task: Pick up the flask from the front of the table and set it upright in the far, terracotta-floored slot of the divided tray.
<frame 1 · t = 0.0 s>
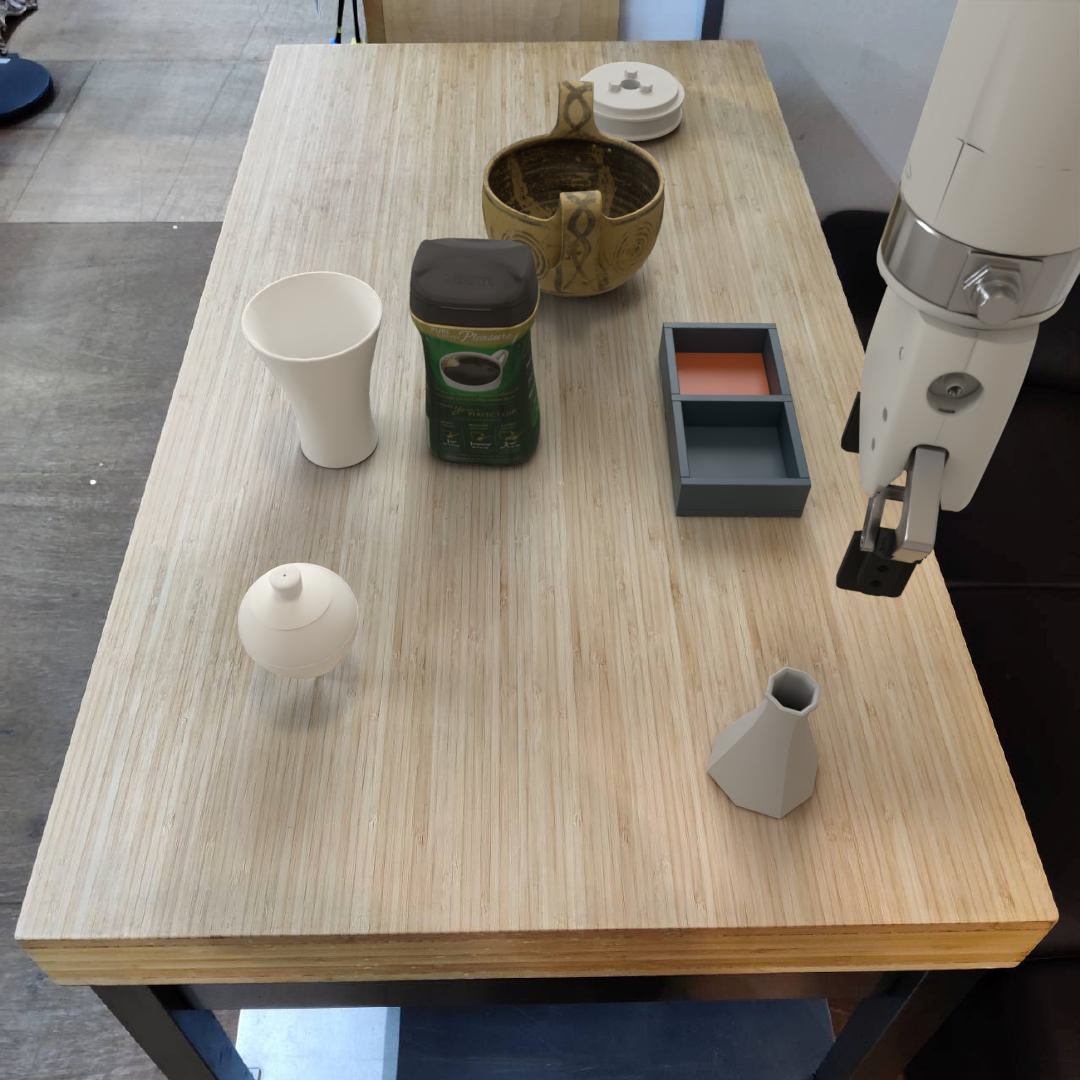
hand: (867, 516, 52), 20 cm above the table, tool pointing down, fingers open, 9 cm apart
coffee jar: (483, 438, 84), on the table
divided tray: (724, 430, 85), on the table
cup: (340, 442, 84), on the table
flask: (762, 767, 66), on the table
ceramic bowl: (570, 276, 98), on the table
lid: (627, 121, 117), on the table
spinning top: (318, 677, 70), on the table
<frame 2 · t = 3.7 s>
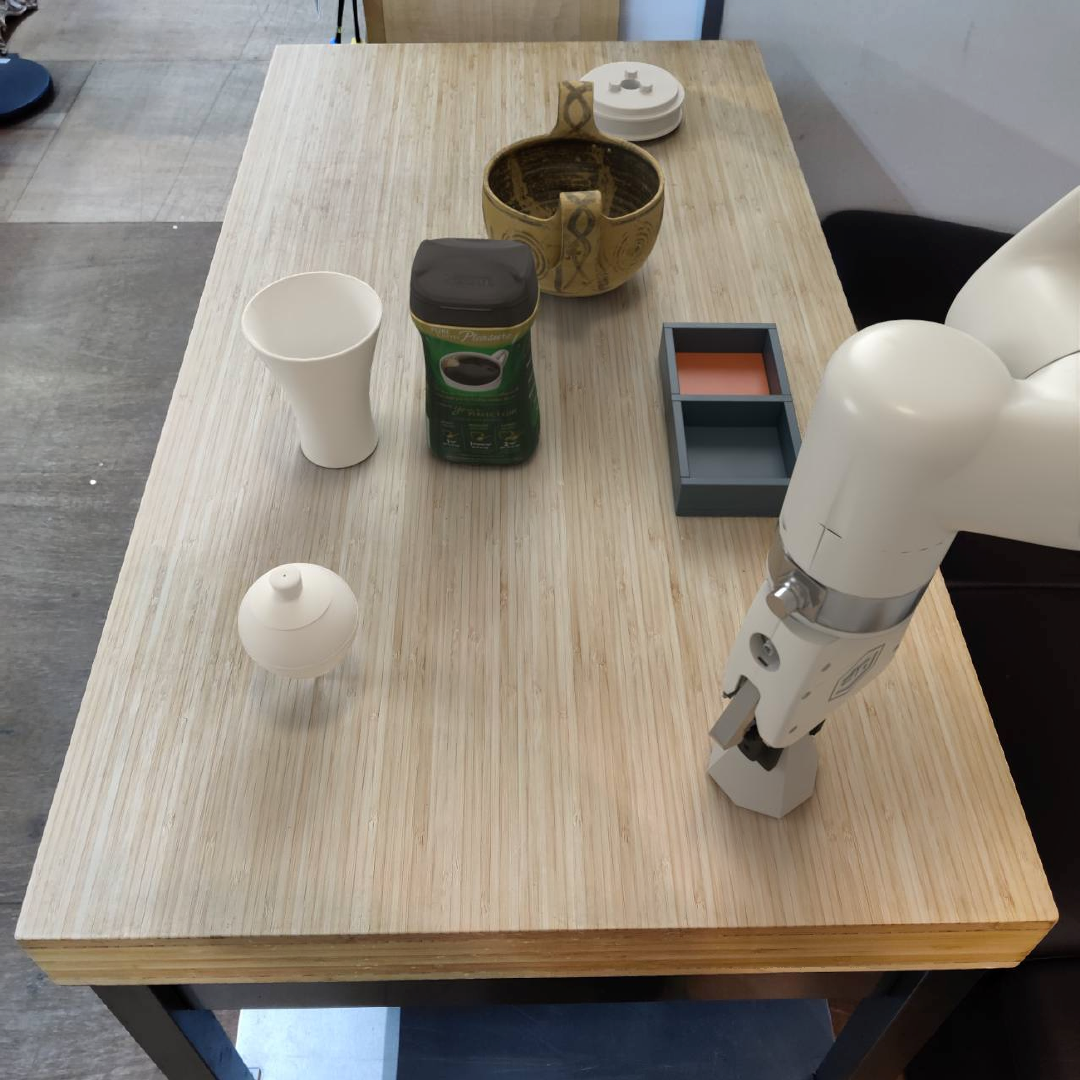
hand: (776, 733, 62), 5 cm above the table, tool pointing down, fingers closed on flask, 3 cm apart
flask: (762, 766, 66), on the table, touching gripper
everything else where it was.
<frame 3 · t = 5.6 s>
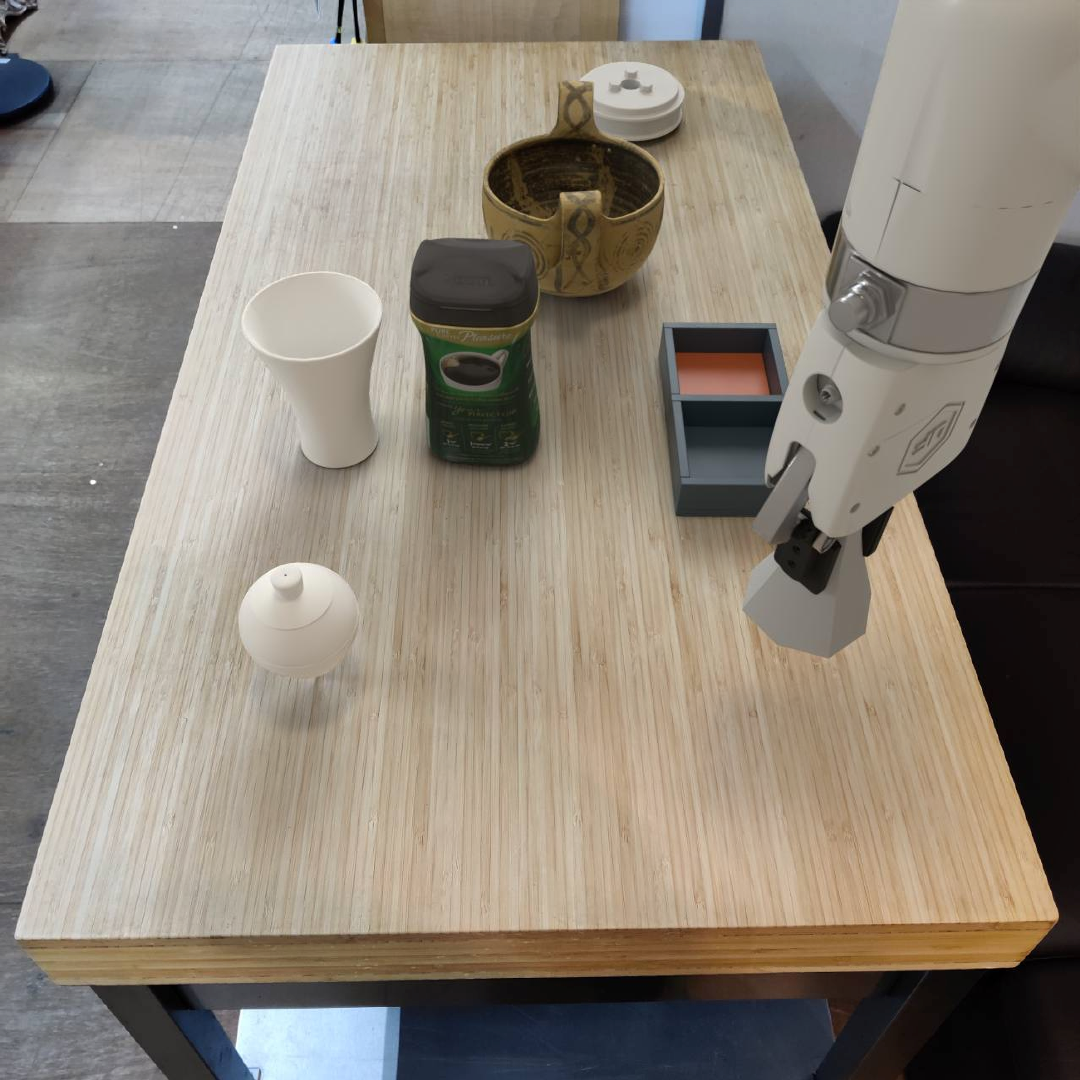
hand: (824, 555, 53), 19 cm above the table, tool pointing down, fingers closed on flask, 3 cm apart
flask: (805, 606, 57), point 14 cm above the table, touching gripper
everything else where it was.
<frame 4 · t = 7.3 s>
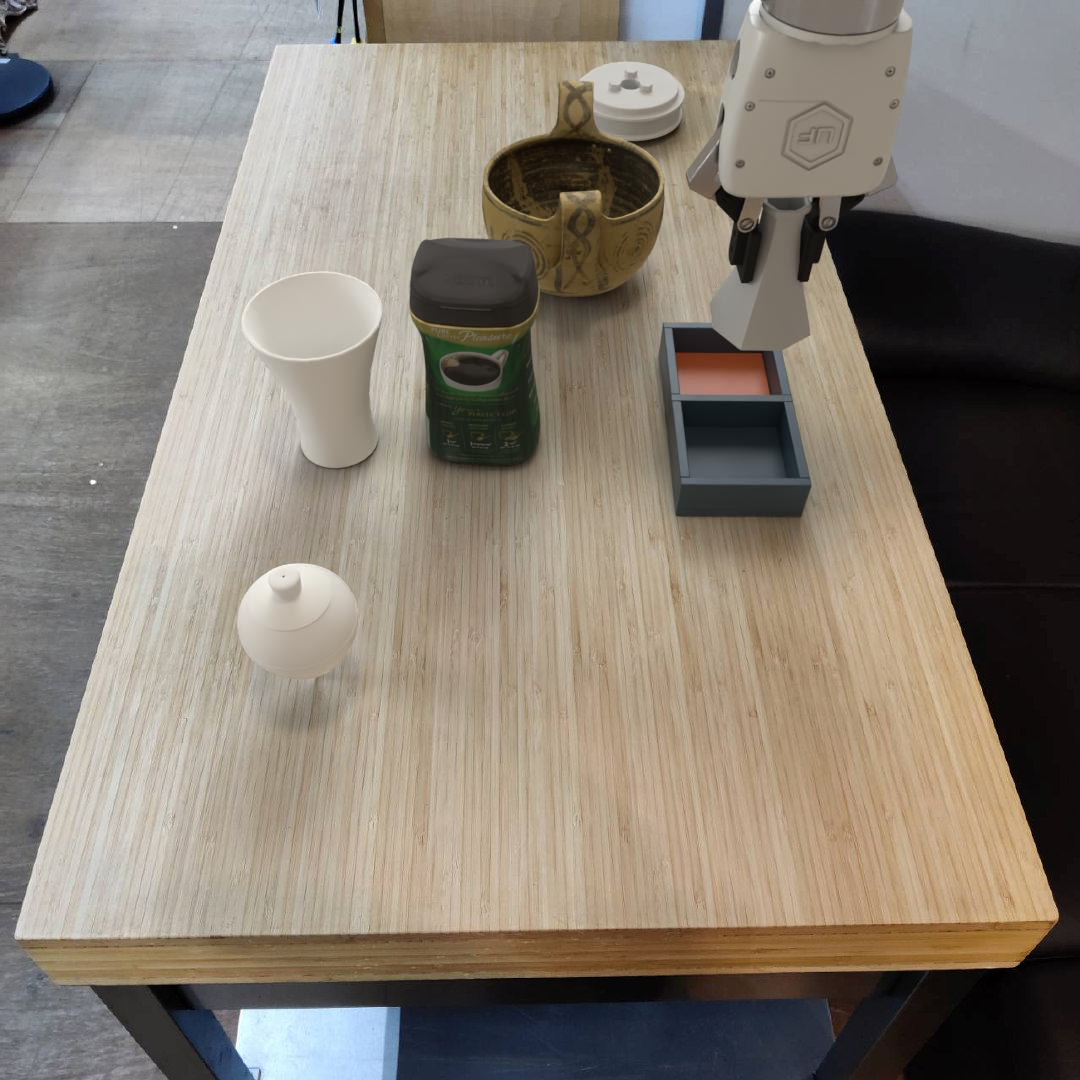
hand: (770, 268, 67), 19 cm above the table, tool pointing down, fingers closed on flask, 3 cm apart
flask: (758, 324, 71), point 14 cm above the table, touching gripper
everything else where it was.
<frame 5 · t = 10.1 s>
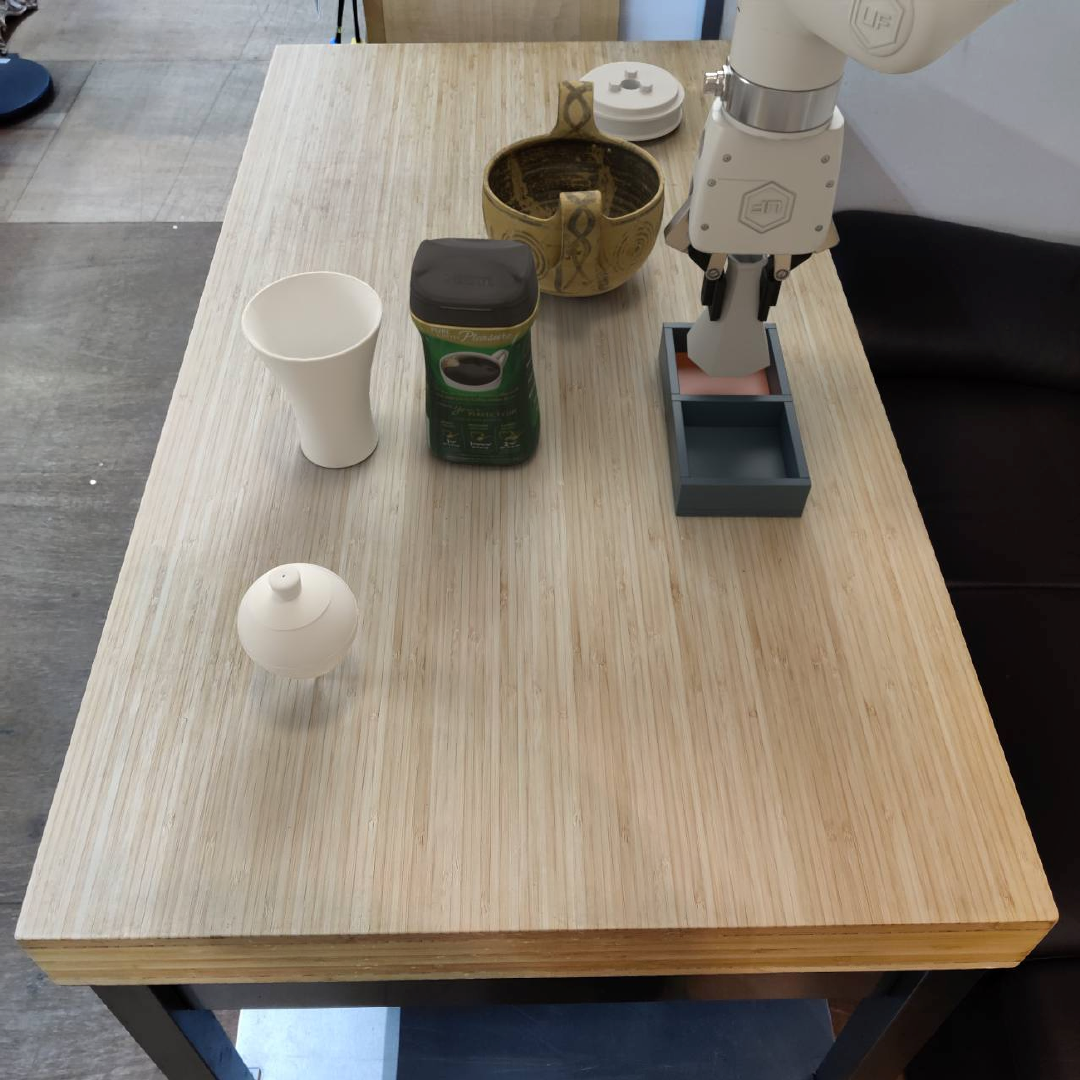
hand: (736, 308, 80), 9 cm above the table, tool pointing down, fingers closed on flask, 3 cm apart
flask: (727, 354, 84), point 5 cm above the table, touching gripper
everything else where it was.
when the fingers open (6 cm above the table, at t = 11.3 s): flask stays where it is, resting on divided tray.
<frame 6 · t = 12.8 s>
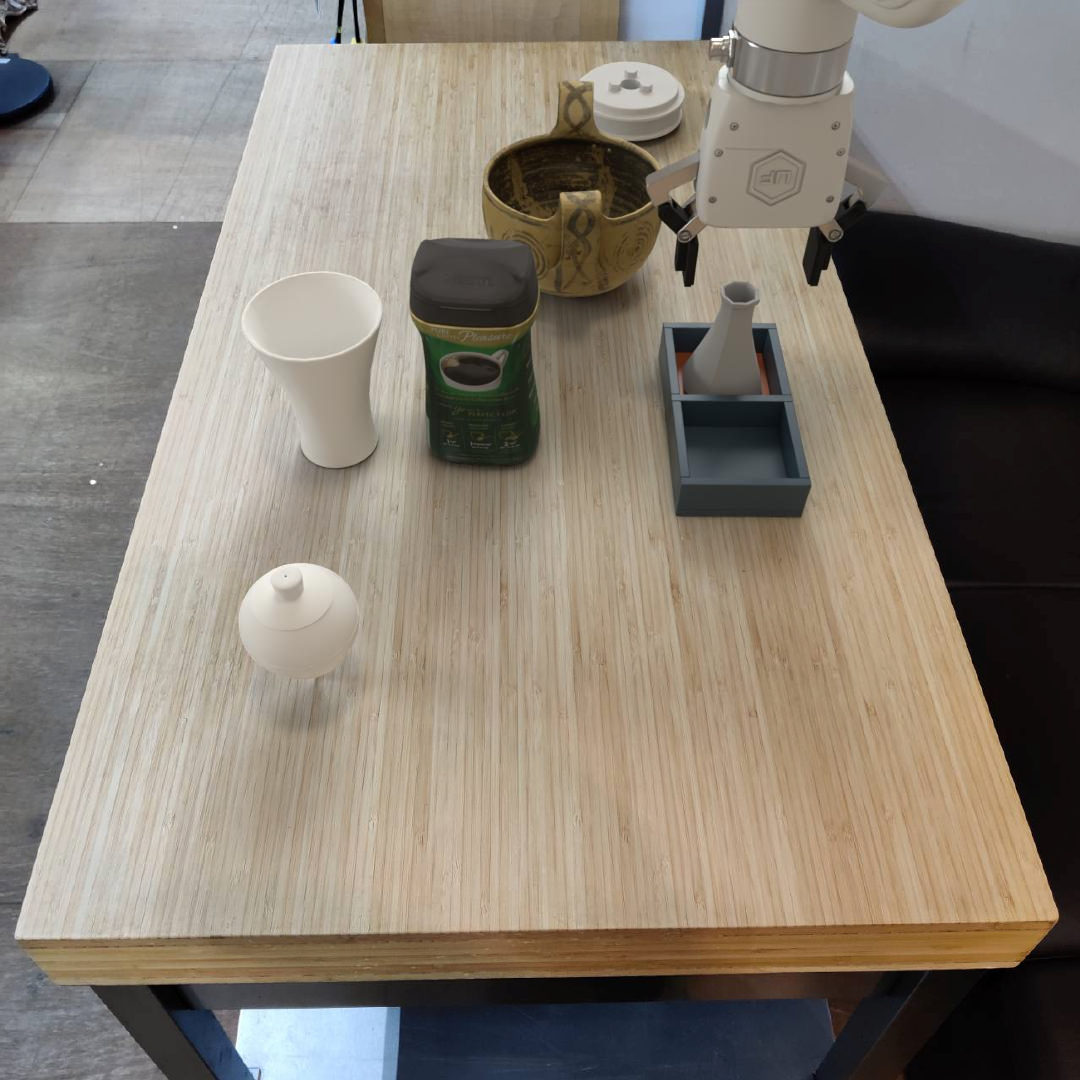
hand: (748, 276, 77), 13 cm above the table, tool pointing down, fingers open, 9 cm apart
flask: (721, 386, 87), point 1 cm above the table, touching divided tray
everything else where it was.
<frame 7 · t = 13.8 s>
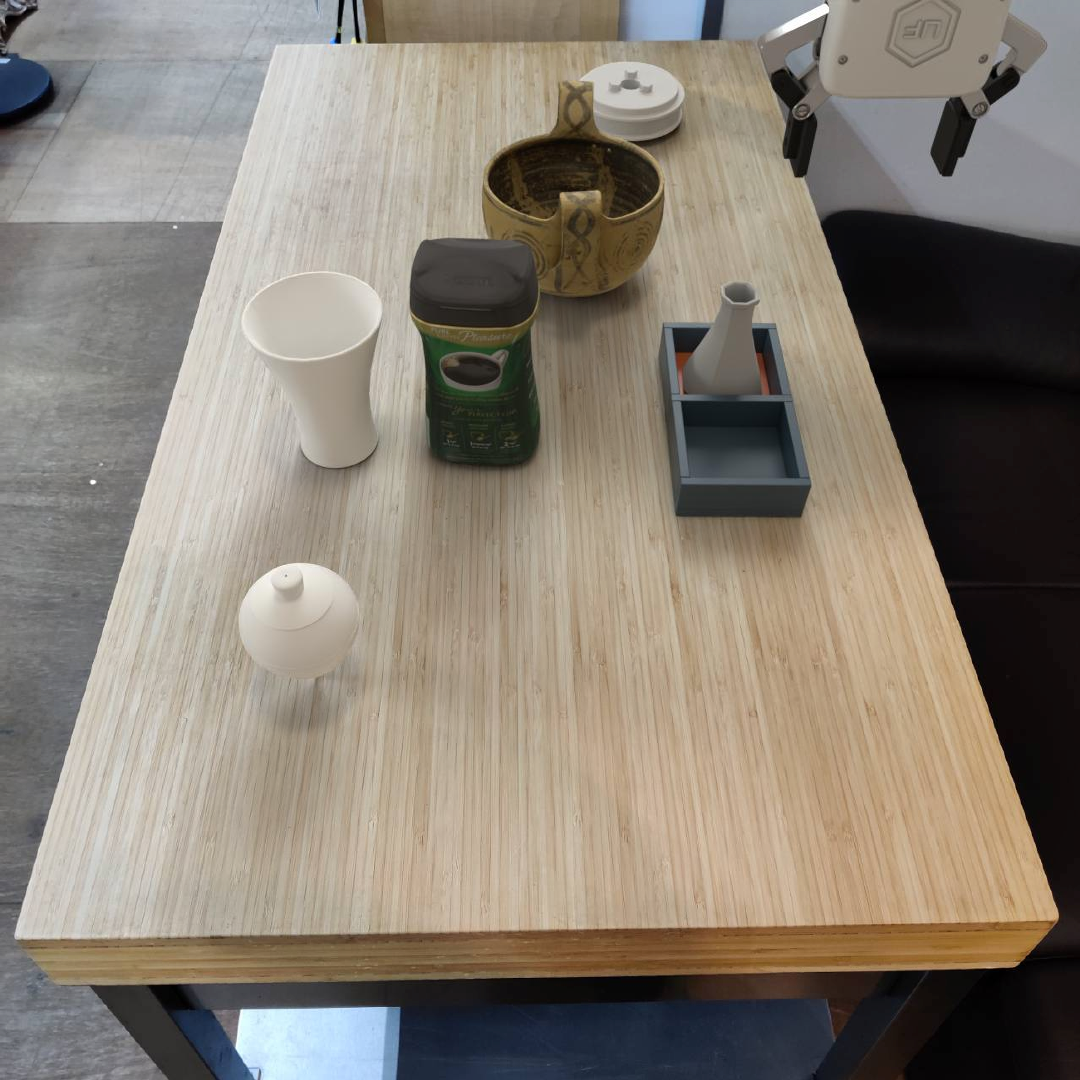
hand: (868, 166, 66), 24 cm above the table, tool pointing down, fingers open, 9 cm apart
nothing on the table moved.
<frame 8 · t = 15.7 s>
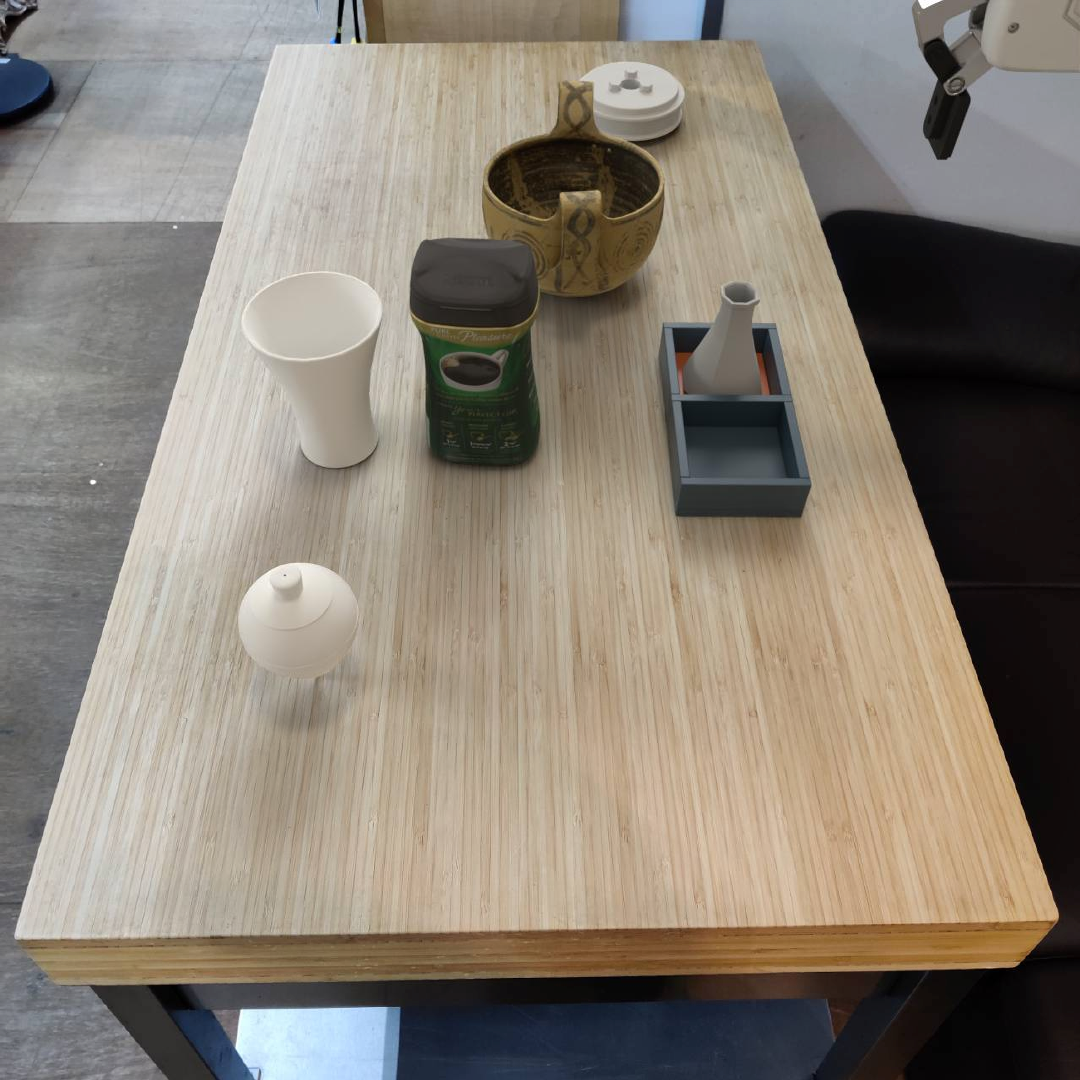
hand: (1015, 148, 60), 28 cm above the table, tool pointing down, fingers open, 9 cm apart
nothing on the table moved.
at the end: flask 0.1 cm from the target spot in the divided tray, point 0.8 cm above the divided tray's base; flask tilted 0°; the gripper is holding nothing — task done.
